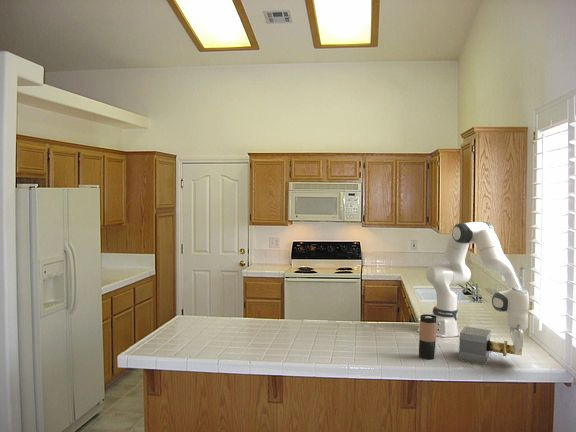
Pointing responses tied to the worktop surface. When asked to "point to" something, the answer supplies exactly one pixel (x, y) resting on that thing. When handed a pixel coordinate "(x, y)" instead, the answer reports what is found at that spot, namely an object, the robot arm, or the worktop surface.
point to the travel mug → (427, 336)
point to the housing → (474, 345)
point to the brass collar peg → (502, 348)
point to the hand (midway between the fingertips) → (515, 352)
